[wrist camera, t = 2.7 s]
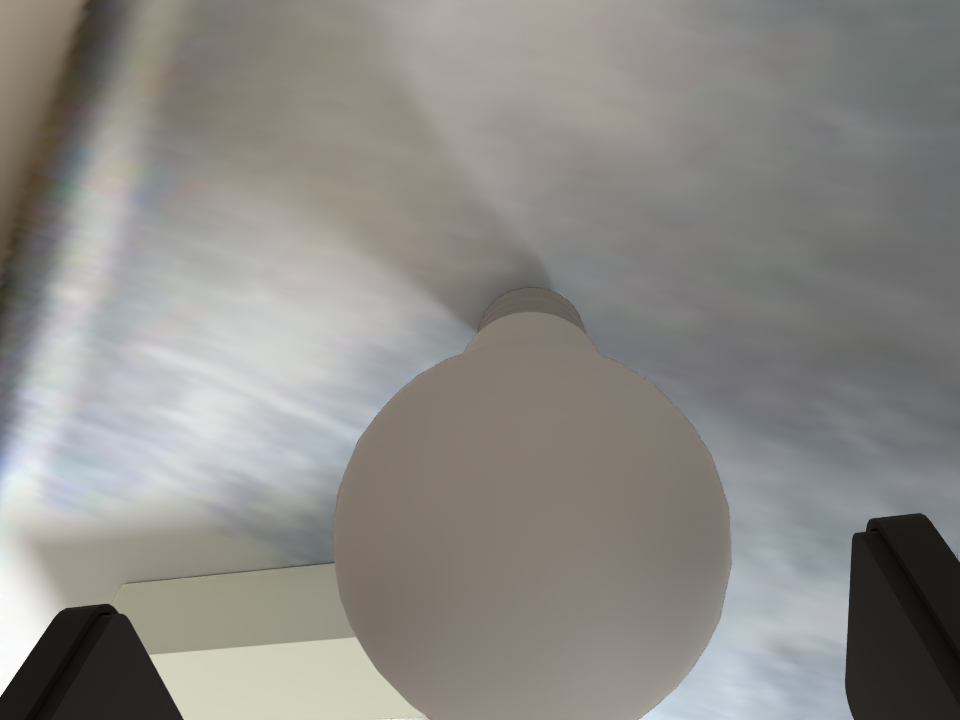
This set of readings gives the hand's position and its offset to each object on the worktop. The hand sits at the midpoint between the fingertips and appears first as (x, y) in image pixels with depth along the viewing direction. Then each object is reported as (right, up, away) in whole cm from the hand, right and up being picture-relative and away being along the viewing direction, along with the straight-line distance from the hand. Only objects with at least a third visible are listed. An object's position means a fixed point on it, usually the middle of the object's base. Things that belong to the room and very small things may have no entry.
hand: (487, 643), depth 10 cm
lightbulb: (+1, +5, +9) cm, 11 cm away
